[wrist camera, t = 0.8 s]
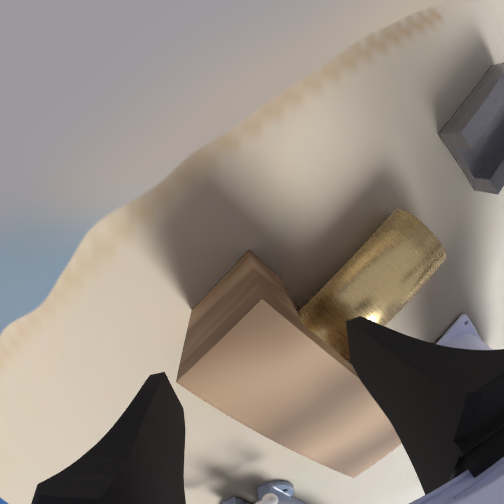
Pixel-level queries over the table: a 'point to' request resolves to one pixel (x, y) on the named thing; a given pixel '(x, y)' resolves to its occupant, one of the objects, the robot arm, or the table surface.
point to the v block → (480, 133)
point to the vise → (271, 494)
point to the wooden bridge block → (280, 373)
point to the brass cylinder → (375, 280)
